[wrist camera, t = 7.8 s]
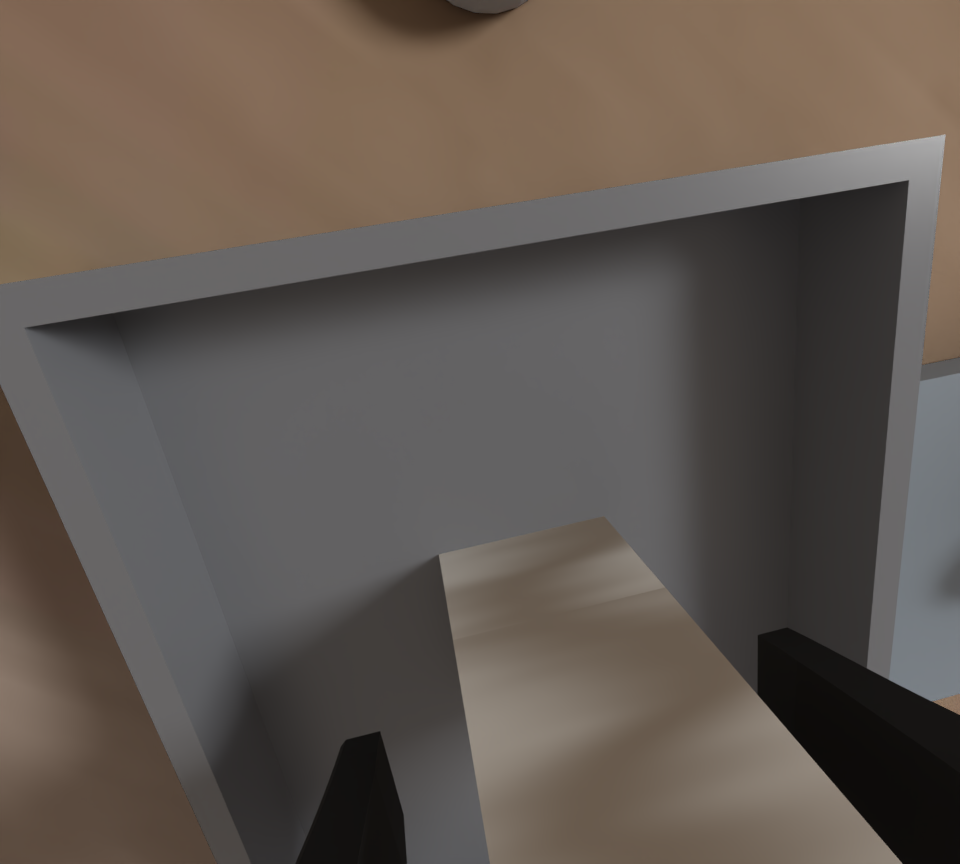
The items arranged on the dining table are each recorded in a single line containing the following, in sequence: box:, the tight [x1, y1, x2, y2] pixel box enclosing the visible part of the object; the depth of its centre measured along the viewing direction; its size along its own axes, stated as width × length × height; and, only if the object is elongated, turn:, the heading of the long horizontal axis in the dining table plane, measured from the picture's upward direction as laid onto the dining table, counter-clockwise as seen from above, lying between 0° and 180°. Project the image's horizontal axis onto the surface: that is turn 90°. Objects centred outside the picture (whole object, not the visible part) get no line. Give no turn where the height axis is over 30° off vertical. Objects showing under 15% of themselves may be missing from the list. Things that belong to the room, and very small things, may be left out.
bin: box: [0, 135, 945, 864], centre depth 12 cm, size 18×15×3 cm
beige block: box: [439, 516, 902, 864], centre depth 9 cm, size 4×4×8 cm
